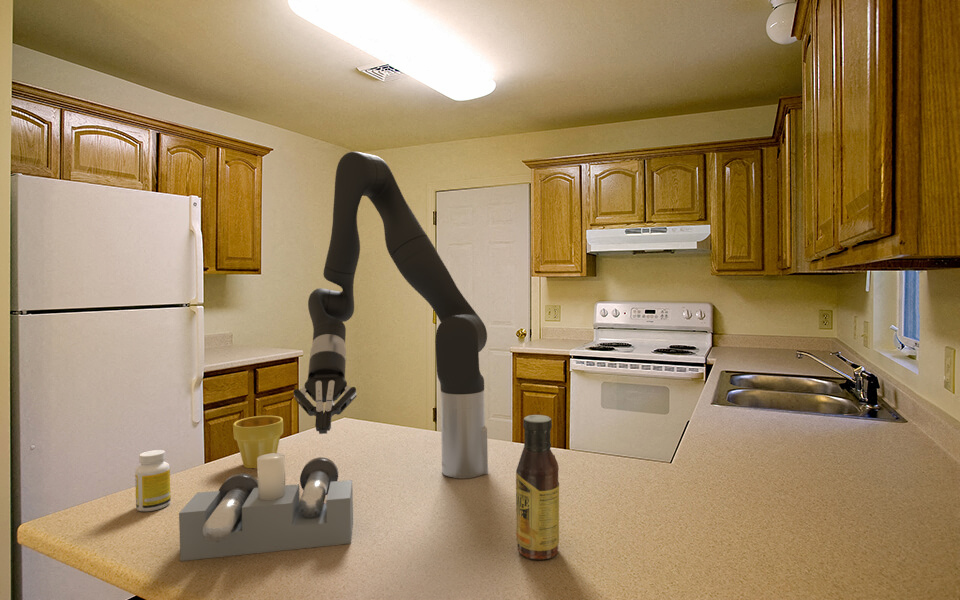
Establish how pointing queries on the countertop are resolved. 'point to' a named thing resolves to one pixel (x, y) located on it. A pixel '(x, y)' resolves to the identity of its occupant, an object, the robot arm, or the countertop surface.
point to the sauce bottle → (537, 492)
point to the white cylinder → (271, 476)
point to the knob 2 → (316, 485)
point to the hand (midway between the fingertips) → (322, 431)
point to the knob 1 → (229, 506)
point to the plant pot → (257, 437)
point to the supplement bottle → (152, 481)
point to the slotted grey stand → (268, 524)
